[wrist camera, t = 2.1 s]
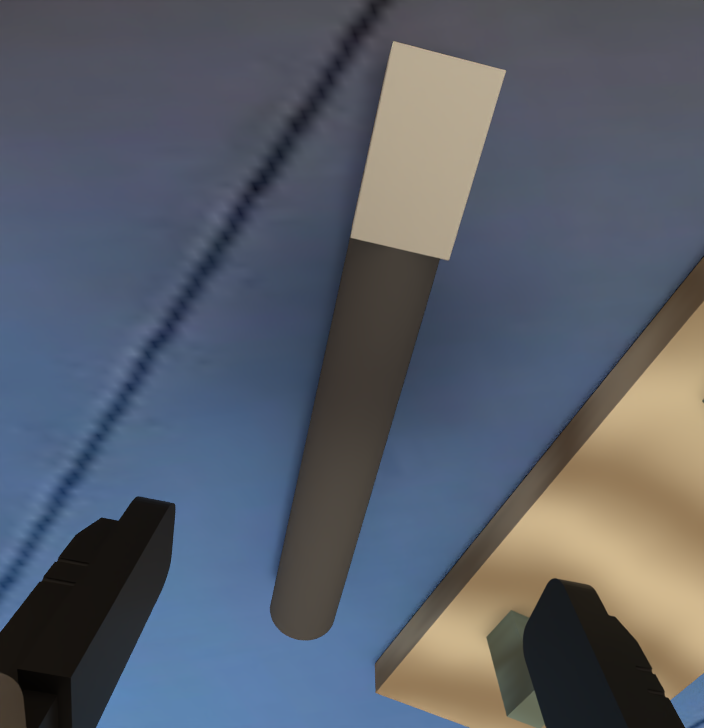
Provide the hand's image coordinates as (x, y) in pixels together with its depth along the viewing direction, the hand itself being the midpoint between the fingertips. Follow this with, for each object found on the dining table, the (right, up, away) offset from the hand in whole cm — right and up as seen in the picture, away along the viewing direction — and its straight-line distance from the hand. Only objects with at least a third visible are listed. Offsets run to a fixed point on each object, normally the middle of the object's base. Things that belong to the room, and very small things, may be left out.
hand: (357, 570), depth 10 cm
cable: (0, +4, +9) cm, 10 cm away
